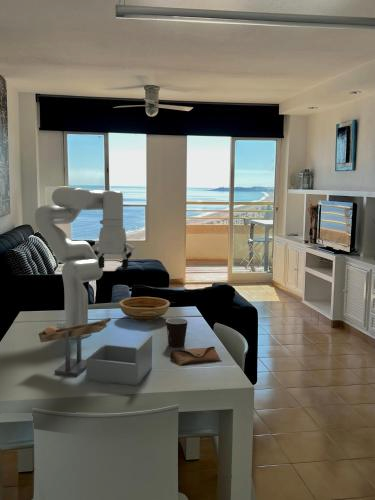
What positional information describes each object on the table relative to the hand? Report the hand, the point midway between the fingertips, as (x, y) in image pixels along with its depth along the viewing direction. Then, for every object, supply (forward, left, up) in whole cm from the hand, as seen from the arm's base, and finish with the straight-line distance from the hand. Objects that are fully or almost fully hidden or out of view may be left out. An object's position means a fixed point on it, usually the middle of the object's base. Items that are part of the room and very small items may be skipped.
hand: (113, 268), depth 185 cm
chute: (-5, -19, -19) cm, 27 cm away
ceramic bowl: (-1, +44, -32) cm, 55 cm away
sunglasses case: (+34, -3, -32) cm, 47 cm away
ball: (-14, -24, -19) cm, 33 cm away
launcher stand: (-5, -24, -32) cm, 40 cm away
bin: (+12, -24, -32) cm, 41 cm away
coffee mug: (+23, +12, -32) cm, 41 cm away
